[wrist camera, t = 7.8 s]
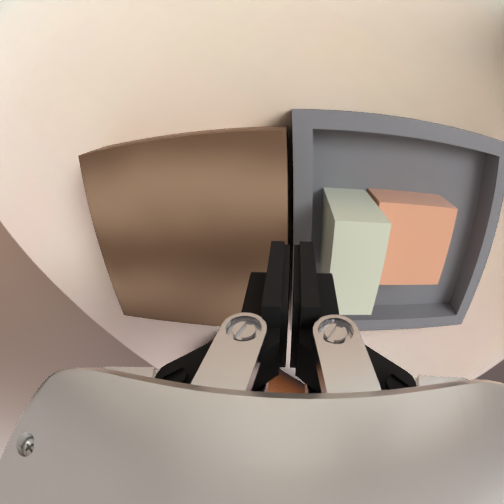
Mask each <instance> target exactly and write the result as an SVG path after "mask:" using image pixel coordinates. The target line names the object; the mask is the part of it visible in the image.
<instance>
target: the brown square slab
mask: <svg viewBox="0 0 504 504" xmlns="http://www.w3.org/2000/svg"><path fill="white" fill-rule="evenodd" d="M79 162H80V167H81V172H82V178H83V183H84V187H85V192H86V196H87V201H88V205H89V209H90V213H91V217H92V221H93V225H94V228H95V232H96V235H97V239H98V242H99V246H100V249H101V252H102V255H103V258H104V262H105V265H106V268H107V271H108V273H109V276H110V279H111V282H112V285H113V288H114V290H115V293H116V296H117V298H118V301H119V303H120V306H121V309H122V311H123V314H124V315H128V316H135V317H142V318H149V319H156V320H164V321H173V322H181V323H191V324H201V325H212V326H221V325H222V323H223V322H224V321H225V319H227V318H228V317H230V316H232V315H234V314H237V313H241V311H242V307H243V303H244V298H245V294H246V290H247V286H248V282H249V277H250V274H251V272H267V266H268V260H269V253H270V246H271V241H285V245H289V194H288V143H287V126H286V127H248V128H231V129H218V130H207V131H197V132H188V133H180V134H172V135H165V136H159V137H152V138H146V139H141V140H135V141H130V142H125V143H120V144H115V145H110V146H106V147H103V148H99V149H96V150H93V151H90V152H88V153H85V154H82V155H79Z"/></svg>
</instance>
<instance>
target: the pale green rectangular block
mask: <svg viewBox="0 0 504 504" xmlns="http://www.w3.org/2000/svg"><path fill="white" fill-rule="evenodd" d="M390 230H391V222H390V221H389V220H388V218H387V217H386V216H385V214H384V213H383V212H382V210H381V209H380V208H379V207H378V205H377V204H376V203H375V201H374V200H373V199H372V198H371V196H370V195H369V194H368V193H367V191H366V190H361V189H344V188H324V187H323V207H322V224H321V238H320V251H319V262H318V263H319V272H320V273H332V275H333V280H334V286H335V291H336V297H337V303H338V309H339V315H371V314H372V310H373V306H374V303H375V299H376V295H377V291H378V287H379V283H380V279H381V274H382V270H383V266H384V261H385V256H386V251H387V246H388V241H389V235H390Z"/></svg>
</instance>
